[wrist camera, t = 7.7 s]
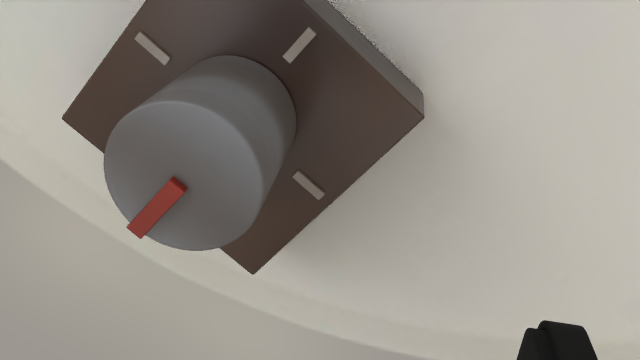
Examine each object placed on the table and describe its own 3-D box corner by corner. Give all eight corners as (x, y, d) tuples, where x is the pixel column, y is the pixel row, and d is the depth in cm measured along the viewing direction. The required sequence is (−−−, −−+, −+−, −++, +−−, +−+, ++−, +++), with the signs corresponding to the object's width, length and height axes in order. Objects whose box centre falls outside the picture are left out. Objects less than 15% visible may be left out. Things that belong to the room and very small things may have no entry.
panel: (423, 93, 23) (425, 119, 21) (268, 239, 27) (251, 278, 25) (234, -90, 22) (208, -90, 19) (97, 96, 26) (57, 120, 23)
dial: (224, 26, 20) (159, 67, 15) (323, 119, 21) (295, 188, 16) (147, 118, 22) (67, 182, 17) (241, 199, 23) (193, 284, 18)
